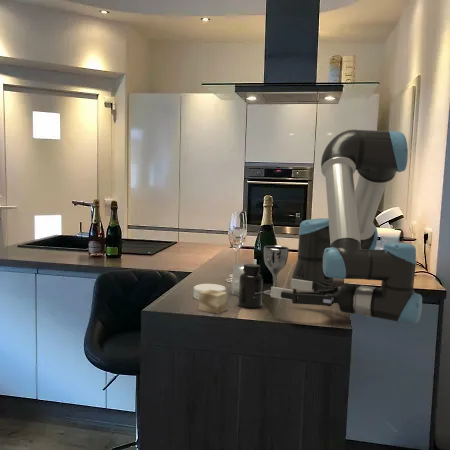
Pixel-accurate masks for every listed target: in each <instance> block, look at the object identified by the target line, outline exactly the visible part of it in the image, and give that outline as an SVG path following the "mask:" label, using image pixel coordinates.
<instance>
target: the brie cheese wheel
mask: <svg viewBox="0 0 450 450" xmlns="http://www.w3.org/2000/svg"><path fill="white" fill-rule="evenodd" d="M209 289H210V290H215V291H221V292H227V288H226V286H224V285H221V284H216V283H201V284H197V285H195V286H193V294H192V296H193V299H196V300H198V301H199V296H200V292H203V291H206V290H209Z"/></svg>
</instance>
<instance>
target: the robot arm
mask: <svg viewBox="0 0 450 450" xmlns="http://www.w3.org/2000/svg"><path fill="white" fill-rule="evenodd" d="M408 150H409V149H408V141H407V137H406V136H405V134H404V133H403V132H401V131H394V130H391V129H390V130H373V129H371V130H369V129H367V130H366V129H348V130H345V131H342V132H340V133H337V135H335V137H333V138H332V139H331V140H330V141H329V143H327V145H326V147H325V148H324V151H323V152H322V156H321V161H320V165H321V166H320V168H321V174H322V176H323V177H324V178H325V187H326V188H325V189H326V198H327V199H326V202H327V215H328V216H327V217H328V218H327V217H326V218H324V217H323V218H320V217H319V218H312V219H305V220H303V221H301V222H300V224H299V229H298V247H297V250H298V251H297V262H296V264H295V267H294V269H293V271H292V274H291V279H290V289H289V288H285V287H276V286H275V287H273V286H271V287H270V290H271V295H270V298H274V299H281V300H286V301H291V303H292V304H293V305H297V304H298V305H313V306H323V307H324V306H325V307H331V306H332V305H334V304H337V305H338V308H339V311H340V312H341V313H346V314H355V313H356V315H359V316H365V318H366V319H370V317H372V318H377V319H381V320H385V321H386V320H387V321H392V322H397V323H403V324H404V323H406V324H413V325H414V324H417V323H418V322H419V321H420V319H421V316H422V310H423V296H422V295H421V294H420V293H417V292H415V289H414V284H415V274H416V265H417V249H416V247H415V245H414V244H411V243H407V242H400V241H399V242H398V241H390V242H386V243H384V245H383V249H376V247H377V242H378V237H379V235H378V228H377V226H376V225H375V224H374V221H375V217H376V214H377V212H378V208H379V206H380V203H381V201H382V197H383V194H384V192H385V189H386V187H387V183H389V182H390V181H392V180H393V179H394V178H395V176H396V174H397V172H398V173H401V172H405V171H406V169H407V166H408V156H409V154H408V152H409V151H408ZM355 172H357V173H358V180H357V183H356V187H355V181H354V180H355V179H354V174H355ZM335 279H339V280H346V279H347V280H366V281H367V280H368V281H381V287H375V286H370V285H368V286H367V285H362V284H361V285H358V284H353V283H347V282H345V283H343V284H342V285H341V286H339V285H335V284H334V283H335V282H334V281H335ZM297 290H300V291H297Z"/></svg>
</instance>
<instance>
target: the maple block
mask: <svg viewBox="0 0 450 450" xmlns="http://www.w3.org/2000/svg"><path fill="white" fill-rule="evenodd" d="M198 303H199V304H198V310H199V311H203V312H208V313H210V314H211V313H212V314H217V315H218V314H220V313H222V312H224V311H228V308H227V307H228V292H227V291H225V292H221V291H215V290H210V289H209V290H206V291H203V292H200V296H199V300H198Z"/></svg>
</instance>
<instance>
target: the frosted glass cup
mask: <svg viewBox="0 0 450 450" xmlns="http://www.w3.org/2000/svg"><path fill="white" fill-rule="evenodd" d="M244 264H245V263H236V264H235V263H234V264H233V265H232V281H231V294H232V295H233V296H236V297H239V280H240V275H241V274H243V273H244V271H243V269H244Z"/></svg>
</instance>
